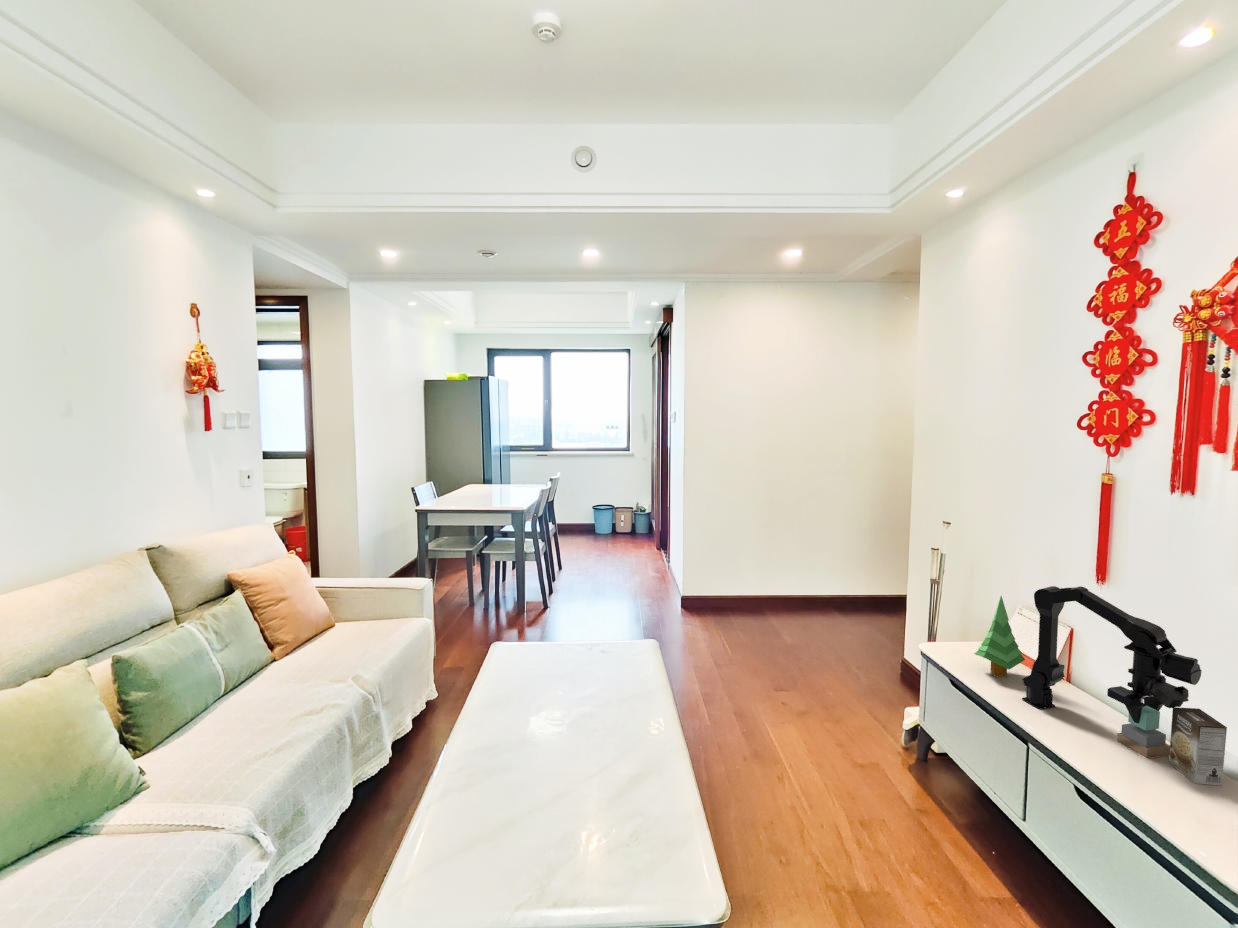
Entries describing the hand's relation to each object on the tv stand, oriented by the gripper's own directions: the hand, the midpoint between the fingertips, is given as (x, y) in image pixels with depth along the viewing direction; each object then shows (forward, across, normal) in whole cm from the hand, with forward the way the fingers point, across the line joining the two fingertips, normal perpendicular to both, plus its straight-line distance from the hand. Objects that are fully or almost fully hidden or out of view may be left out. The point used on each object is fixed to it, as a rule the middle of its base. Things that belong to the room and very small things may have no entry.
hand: (1143, 721), depth 157 cm
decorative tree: (+8, -3, +46) cm, 47 cm away
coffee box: (+8, +1, -12) cm, 14 cm away
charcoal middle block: (+5, 0, 0) cm, 5 cm away
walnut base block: (+8, 0, 0) cm, 8 cm away
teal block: (+1, 0, 0) cm, 1 cm away
